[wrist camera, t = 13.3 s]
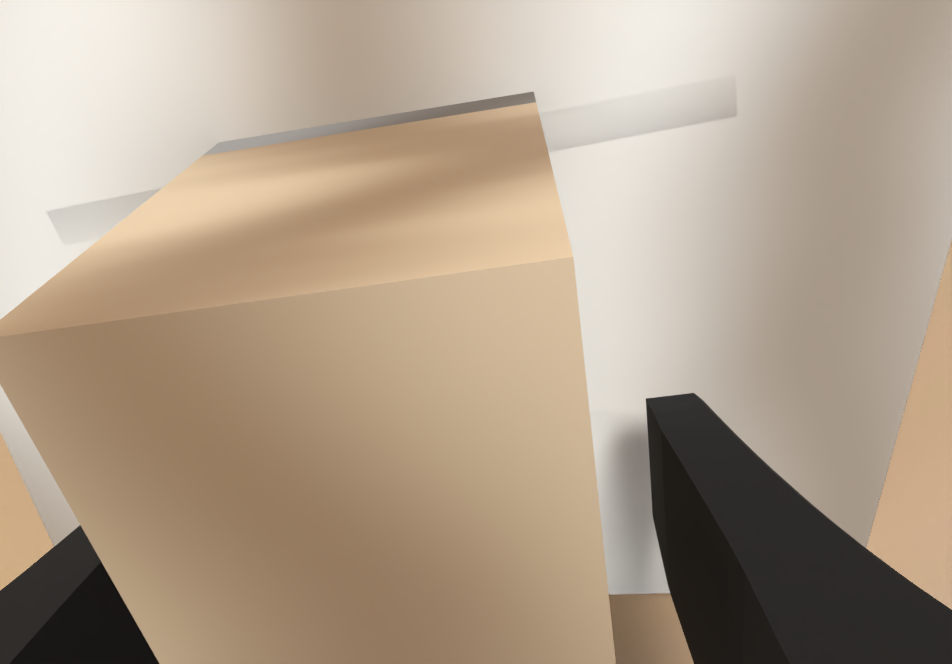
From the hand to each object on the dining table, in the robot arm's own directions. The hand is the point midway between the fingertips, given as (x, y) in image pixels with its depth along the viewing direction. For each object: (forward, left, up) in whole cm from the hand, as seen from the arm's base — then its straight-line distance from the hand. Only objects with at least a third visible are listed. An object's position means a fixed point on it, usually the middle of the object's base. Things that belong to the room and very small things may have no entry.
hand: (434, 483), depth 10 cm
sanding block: (0, -1, -2) cm, 2 cm away
